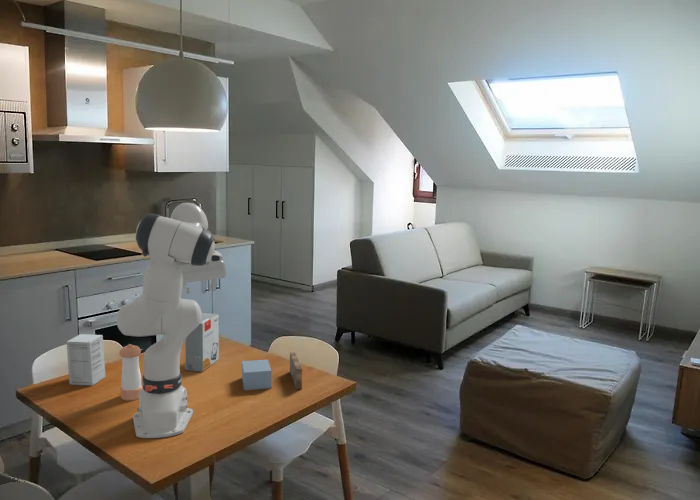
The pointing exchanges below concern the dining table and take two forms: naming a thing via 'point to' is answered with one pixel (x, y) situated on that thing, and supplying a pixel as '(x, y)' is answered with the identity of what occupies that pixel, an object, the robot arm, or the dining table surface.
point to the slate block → (256, 374)
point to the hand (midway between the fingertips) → (199, 291)
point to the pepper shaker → (130, 372)
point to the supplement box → (85, 359)
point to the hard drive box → (203, 344)
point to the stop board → (296, 370)
